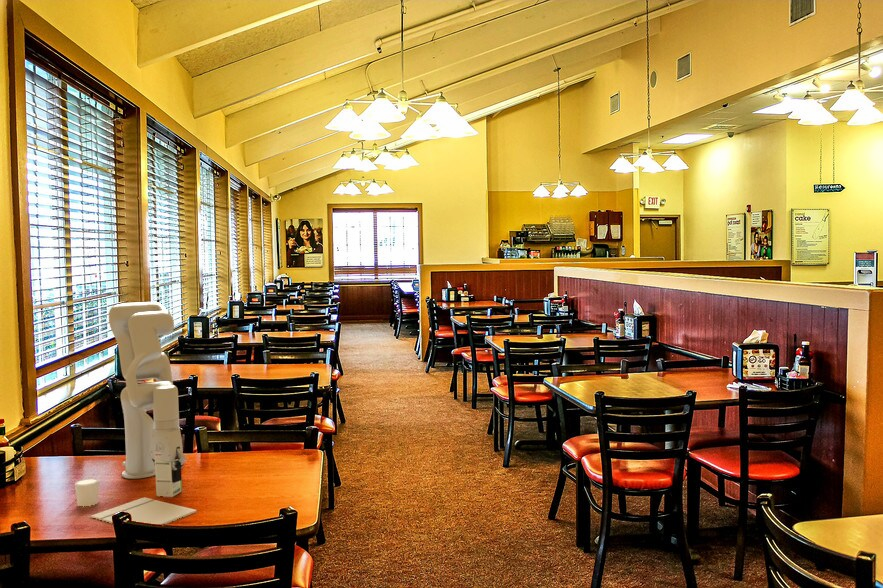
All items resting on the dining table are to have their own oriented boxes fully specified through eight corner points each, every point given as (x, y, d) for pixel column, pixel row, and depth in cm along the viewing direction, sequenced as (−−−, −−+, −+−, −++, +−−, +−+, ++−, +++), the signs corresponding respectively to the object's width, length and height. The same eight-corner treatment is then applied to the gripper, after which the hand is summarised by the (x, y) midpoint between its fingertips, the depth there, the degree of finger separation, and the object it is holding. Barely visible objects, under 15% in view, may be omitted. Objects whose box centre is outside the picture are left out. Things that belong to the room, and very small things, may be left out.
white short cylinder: (83, 509, 216) (82, 486, 215) (70, 505, 219) (69, 482, 219) (104, 502, 222) (103, 480, 221) (91, 498, 225) (90, 476, 225)
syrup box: (172, 497, 225) (170, 452, 224) (155, 496, 226) (154, 451, 225) (182, 491, 231) (181, 447, 230) (166, 490, 232) (164, 446, 231)
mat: (90, 517, 208) (90, 515, 208) (144, 499, 224) (143, 497, 224) (144, 532, 196) (143, 530, 196) (196, 511, 212) (196, 509, 212)
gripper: (138, 424, 228) (140, 479, 229) (175, 429, 220) (177, 487, 220) (158, 419, 235) (160, 472, 236) (194, 424, 226) (196, 480, 227)
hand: (168, 479), depth 228 cm, fingers closed on syrup box, 7 cm apart
